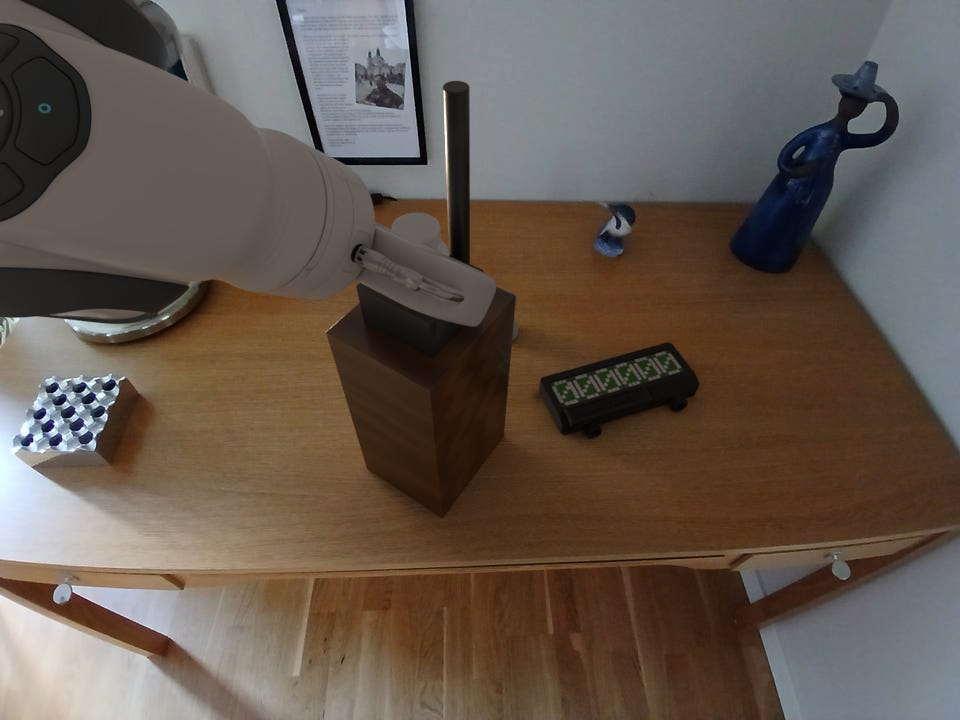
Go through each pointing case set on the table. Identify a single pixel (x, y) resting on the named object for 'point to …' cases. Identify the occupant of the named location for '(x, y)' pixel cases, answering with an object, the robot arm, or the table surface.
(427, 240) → the supplement bottle
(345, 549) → the table surface
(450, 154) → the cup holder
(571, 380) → the digital display
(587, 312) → the table surface
